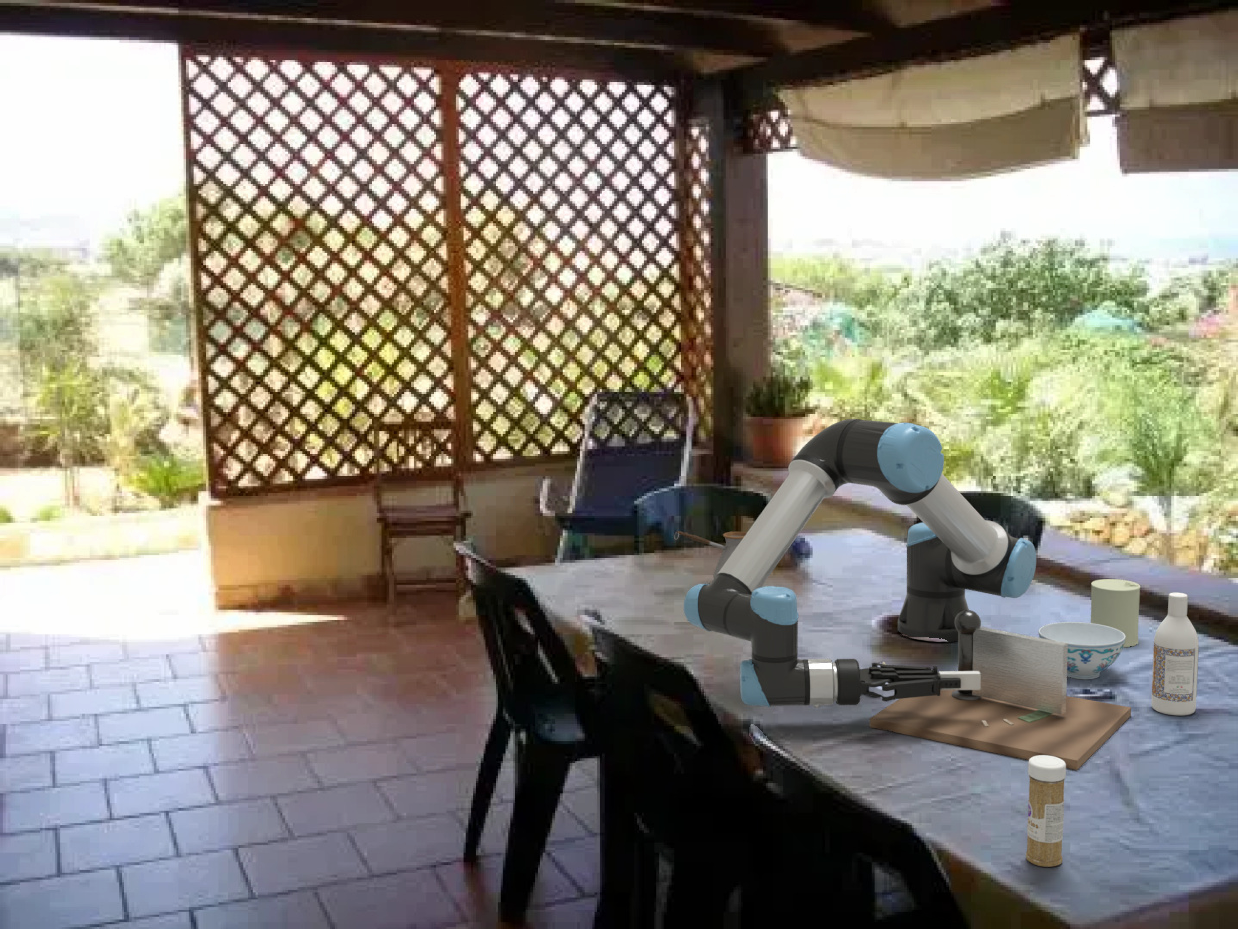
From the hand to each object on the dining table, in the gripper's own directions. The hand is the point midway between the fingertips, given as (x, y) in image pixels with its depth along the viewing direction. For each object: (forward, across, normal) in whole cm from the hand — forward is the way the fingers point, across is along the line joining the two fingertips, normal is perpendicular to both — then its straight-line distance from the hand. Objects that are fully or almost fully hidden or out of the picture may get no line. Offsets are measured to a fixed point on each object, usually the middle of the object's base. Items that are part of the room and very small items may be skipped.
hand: (979, 680), depth 216 cm
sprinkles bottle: (-2, +49, -8) cm, 49 cm away
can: (+37, -48, -8) cm, 61 cm away
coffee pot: (-40, -92, -8) cm, 101 cm away
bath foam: (+34, -8, -8) cm, 36 cm away
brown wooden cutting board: (+4, -2, -8) cm, 9 cm away
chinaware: (+25, -27, -8) cm, 38 cm away
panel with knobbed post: (+6, -6, -6) cm, 10 cm away
